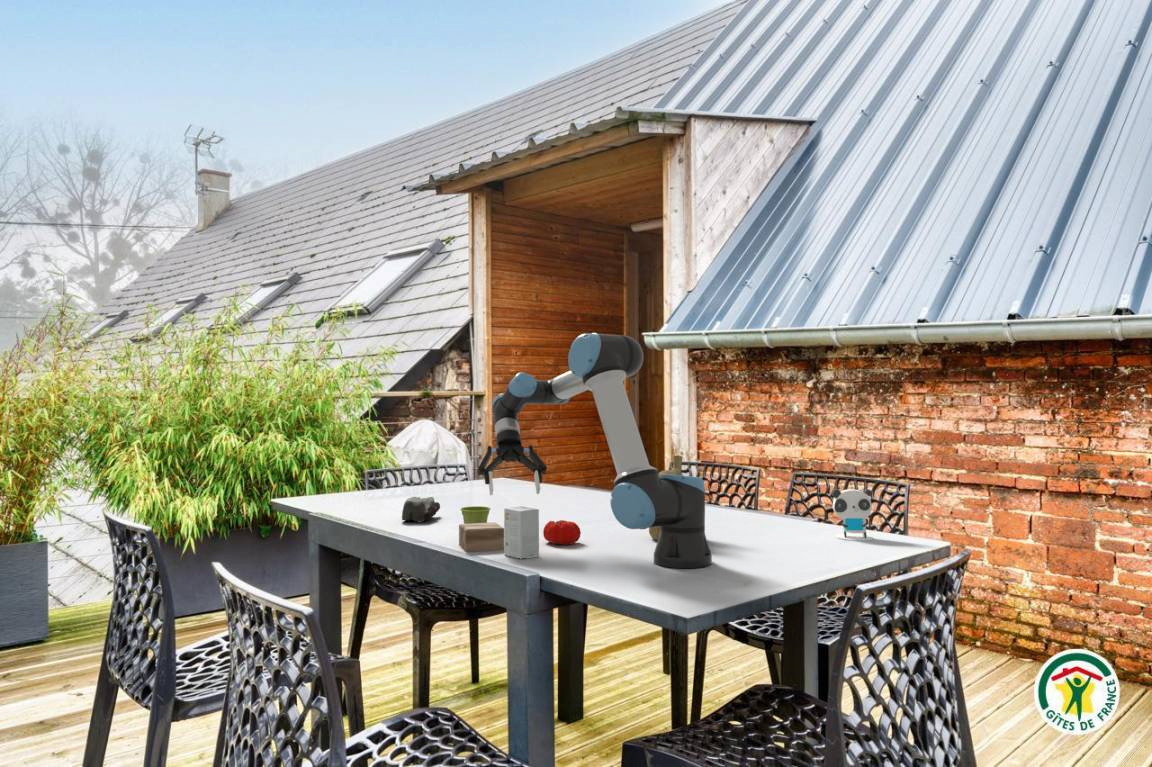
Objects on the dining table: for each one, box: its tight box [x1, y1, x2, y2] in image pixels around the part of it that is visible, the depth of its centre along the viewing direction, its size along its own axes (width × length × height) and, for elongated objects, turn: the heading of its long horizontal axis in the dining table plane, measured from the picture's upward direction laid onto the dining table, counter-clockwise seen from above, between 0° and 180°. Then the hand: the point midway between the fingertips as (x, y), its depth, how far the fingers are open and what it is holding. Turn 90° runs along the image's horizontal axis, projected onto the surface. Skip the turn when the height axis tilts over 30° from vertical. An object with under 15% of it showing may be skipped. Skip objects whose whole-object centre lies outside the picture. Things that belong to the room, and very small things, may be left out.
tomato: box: [542, 519, 581, 546], centre depth 243 cm, size 10×11×6 cm
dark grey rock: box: [401, 496, 441, 522], centre depth 288 cm, size 18×11×8 cm, turn 179°
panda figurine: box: [830, 488, 874, 542], centre depth 252 cm, size 12×11×15 cm
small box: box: [503, 506, 540, 560], centre depth 224 cm, size 8×6×13 cm
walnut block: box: [458, 521, 504, 553], centre depth 237 cm, size 11×11×6 cm
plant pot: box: [460, 505, 491, 524], centre depth 255 cm, size 9×9×9 cm
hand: (515, 491), depth 235 cm, fingers open, 13 cm apart
